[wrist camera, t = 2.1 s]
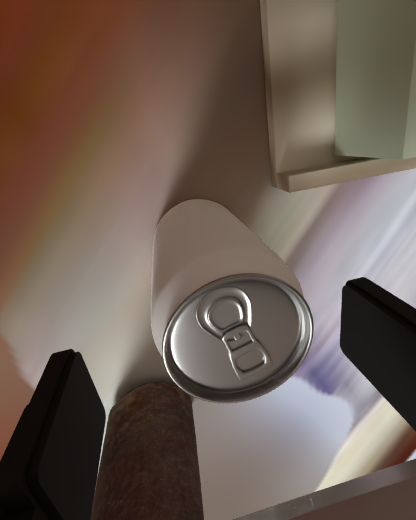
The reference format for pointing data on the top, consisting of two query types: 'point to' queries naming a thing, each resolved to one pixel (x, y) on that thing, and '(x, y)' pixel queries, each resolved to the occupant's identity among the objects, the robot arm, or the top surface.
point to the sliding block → (376, 79)
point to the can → (224, 306)
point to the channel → (307, 98)
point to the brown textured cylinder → (149, 458)
